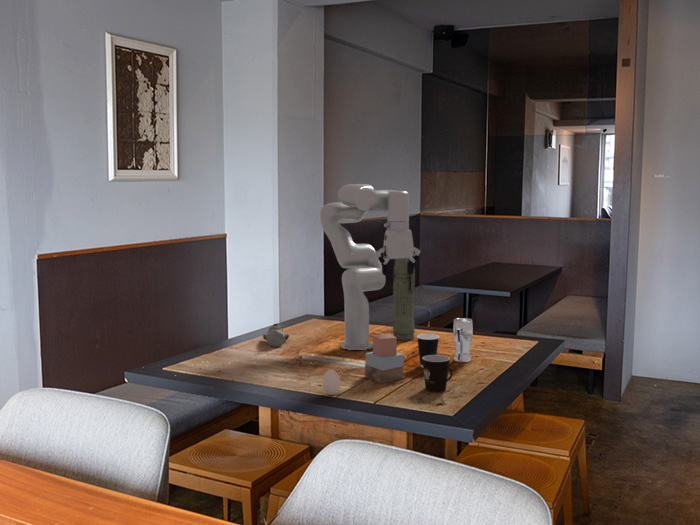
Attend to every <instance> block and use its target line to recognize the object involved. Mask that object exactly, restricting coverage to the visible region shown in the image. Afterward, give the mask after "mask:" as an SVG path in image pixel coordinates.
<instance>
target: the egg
mask: <svg viewBox="0 0 700 525" xmlns="http://www.w3.org/2000/svg"><path fill="white" fill-rule="evenodd" d="M321 382H322V383H321V385H322V388H323V391H324V393H326V395H329V396H334V395H336V394H337V393H338V391H339V389H340V387H341V379H340V376H339V374H338V373H337V372H336V371H335V369H328V370H327V371H326V372H324V375H323V377H322V380H321Z"/></svg>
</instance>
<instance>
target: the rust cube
mask: <svg viewBox="0 0 700 525" xmlns="http://www.w3.org/2000/svg"><path fill="white" fill-rule="evenodd" d="M397 342H398V340H397V338H396V337H394V336H393V334H390V333H386V334H373V335H372V344H373V347H372V352H373V353H374V354H376V355H377V356H379V357H385V356H396V355H397V353H398V351H397V347H398V346H397Z"/></svg>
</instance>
